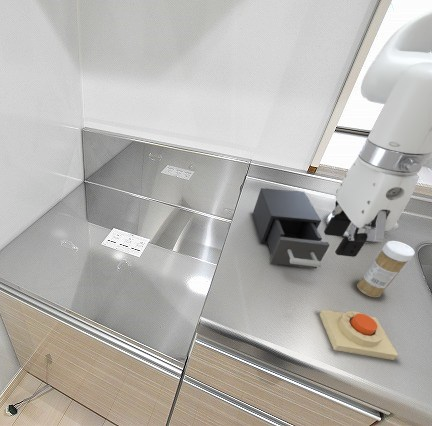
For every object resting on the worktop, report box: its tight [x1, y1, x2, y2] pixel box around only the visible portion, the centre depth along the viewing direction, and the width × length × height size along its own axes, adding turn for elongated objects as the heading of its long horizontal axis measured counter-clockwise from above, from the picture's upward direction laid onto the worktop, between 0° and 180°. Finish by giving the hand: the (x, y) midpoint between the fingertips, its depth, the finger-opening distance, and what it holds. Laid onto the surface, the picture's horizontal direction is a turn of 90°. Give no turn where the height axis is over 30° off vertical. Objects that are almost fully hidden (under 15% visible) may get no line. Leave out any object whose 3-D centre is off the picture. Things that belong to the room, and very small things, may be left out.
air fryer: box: [252, 187, 322, 245], centre depth 82 cm, size 14×12×10 cm
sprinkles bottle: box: [356, 240, 416, 298], centre depth 63 cm, size 5×5×13 cm
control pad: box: [318, 309, 399, 361], centre depth 57 cm, size 10×8×4 cm
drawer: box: [266, 219, 330, 269], centre depth 73 cm, size 17×10×8 cm, turn 168°
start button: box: [350, 313, 378, 335], centre depth 56 cm, size 4×4×2 cm
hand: (339, 243), depth 55 cm, fingers open, 4 cm apart
